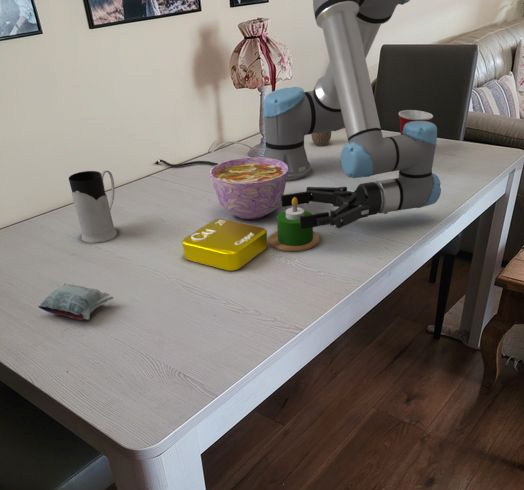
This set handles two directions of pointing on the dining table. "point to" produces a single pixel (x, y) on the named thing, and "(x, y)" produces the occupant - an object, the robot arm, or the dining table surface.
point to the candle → (293, 226)
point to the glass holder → (93, 205)
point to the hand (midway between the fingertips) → (290, 211)
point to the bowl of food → (249, 185)
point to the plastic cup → (413, 117)
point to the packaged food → (74, 301)
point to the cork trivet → (277, 245)
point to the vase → (321, 138)
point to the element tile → (225, 244)
